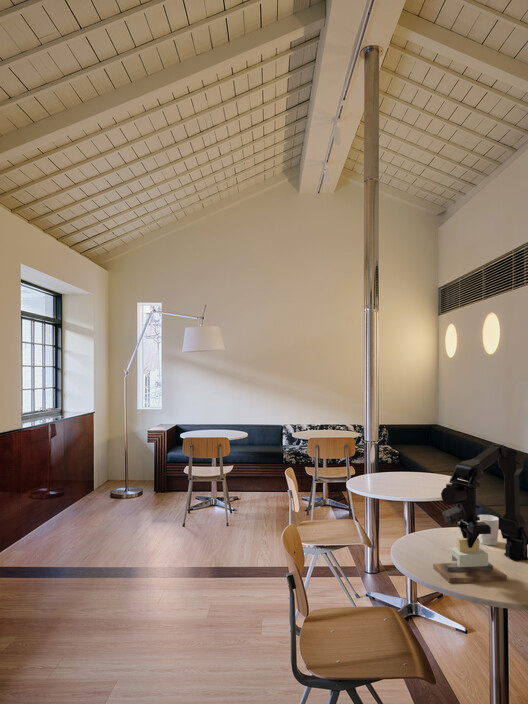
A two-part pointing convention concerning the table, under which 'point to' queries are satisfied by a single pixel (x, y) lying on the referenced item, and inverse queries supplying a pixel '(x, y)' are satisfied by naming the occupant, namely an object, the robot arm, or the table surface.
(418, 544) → the table surface
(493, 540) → the white cup
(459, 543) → the sage block
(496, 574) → the board
